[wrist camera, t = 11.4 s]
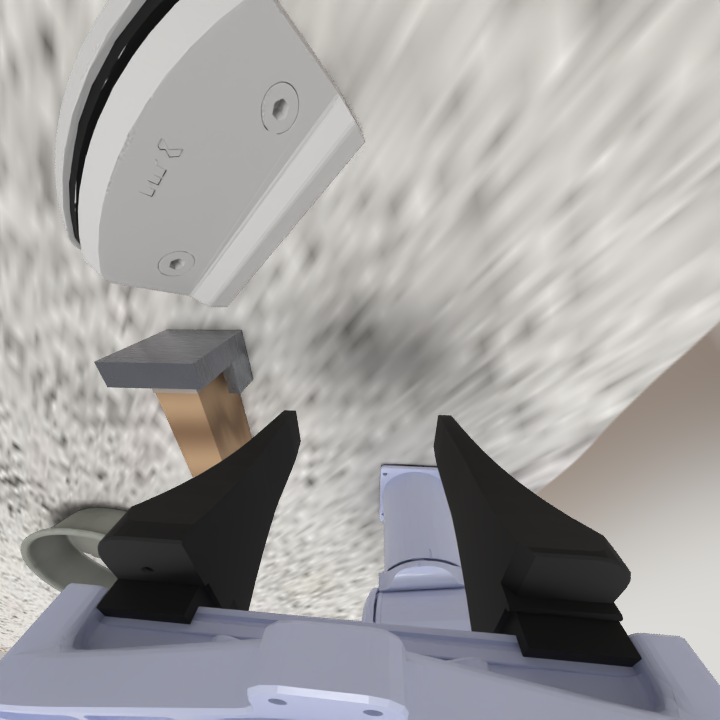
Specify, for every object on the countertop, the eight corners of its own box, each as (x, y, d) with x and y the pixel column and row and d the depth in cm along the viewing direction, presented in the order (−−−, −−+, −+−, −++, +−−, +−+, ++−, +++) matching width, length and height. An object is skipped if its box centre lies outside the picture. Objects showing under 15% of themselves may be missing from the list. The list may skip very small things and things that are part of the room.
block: (252, 439, 28) (228, 479, 24) (221, 438, 29) (191, 477, 24) (231, 358, 24) (195, 388, 19) (194, 358, 24) (151, 387, 20)
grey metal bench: (252, 379, 25) (213, 423, 19) (184, 377, 25) (125, 420, 19) (241, 330, 22) (192, 363, 17) (166, 329, 23) (94, 361, 17)
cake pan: (20, 497, 37) (-24, 529, 33) (175, 499, 35) (148, 534, 31) (107, 584, 48) (82, 616, 44) (231, 590, 45) (216, 625, 41)
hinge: (224, 310, 22) (60, 310, 12) (191, 267, 22) (6, 235, 13) (369, 135, 16) (268, -112, 7) (324, 79, 16) (162, -239, 7)
